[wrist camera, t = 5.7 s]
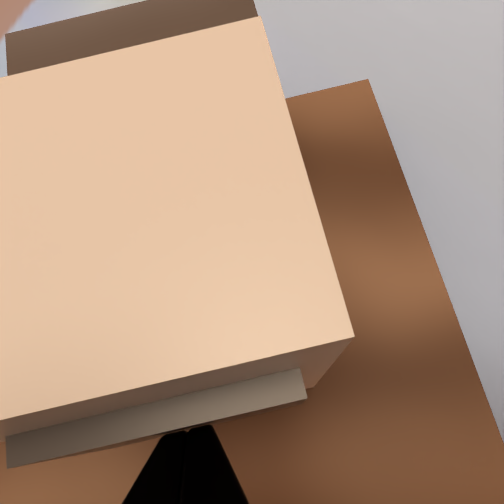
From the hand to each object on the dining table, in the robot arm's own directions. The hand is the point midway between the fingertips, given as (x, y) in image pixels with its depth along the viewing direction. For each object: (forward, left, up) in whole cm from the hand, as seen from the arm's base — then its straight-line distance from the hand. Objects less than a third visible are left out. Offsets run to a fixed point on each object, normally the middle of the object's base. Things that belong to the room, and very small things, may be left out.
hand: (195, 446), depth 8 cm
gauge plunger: (+2, +2, -5) cm, 6 cm away
